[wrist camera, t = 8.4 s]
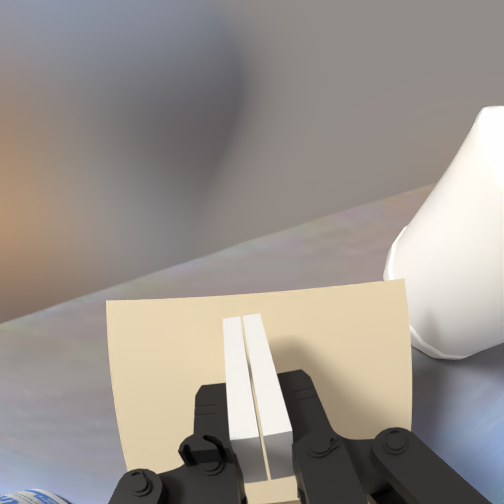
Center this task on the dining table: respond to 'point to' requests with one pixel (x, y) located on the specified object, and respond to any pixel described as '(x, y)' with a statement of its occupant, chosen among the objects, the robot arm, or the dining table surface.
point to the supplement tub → (31, 497)
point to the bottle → (458, 250)
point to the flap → (283, 355)
